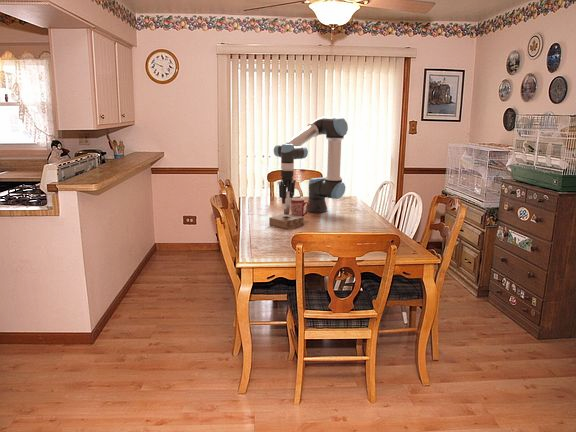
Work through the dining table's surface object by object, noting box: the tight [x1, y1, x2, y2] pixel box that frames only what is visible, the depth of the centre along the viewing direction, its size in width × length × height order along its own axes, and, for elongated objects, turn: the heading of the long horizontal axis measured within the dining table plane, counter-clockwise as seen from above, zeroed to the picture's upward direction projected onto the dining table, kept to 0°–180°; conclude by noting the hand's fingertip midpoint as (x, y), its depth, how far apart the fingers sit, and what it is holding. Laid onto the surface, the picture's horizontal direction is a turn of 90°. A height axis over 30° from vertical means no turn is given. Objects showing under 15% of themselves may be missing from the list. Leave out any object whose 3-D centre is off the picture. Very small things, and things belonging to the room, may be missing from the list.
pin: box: [283, 191, 290, 215], centre depth 288 cm, size 3×3×14 cm
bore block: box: [268, 213, 305, 230], centre depth 291 cm, size 16×14×5 cm
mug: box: [290, 197, 310, 218], centre depth 305 cm, size 13×9×14 cm
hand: (286, 208), depth 289 cm, fingers closed on pin, 3 cm apart
